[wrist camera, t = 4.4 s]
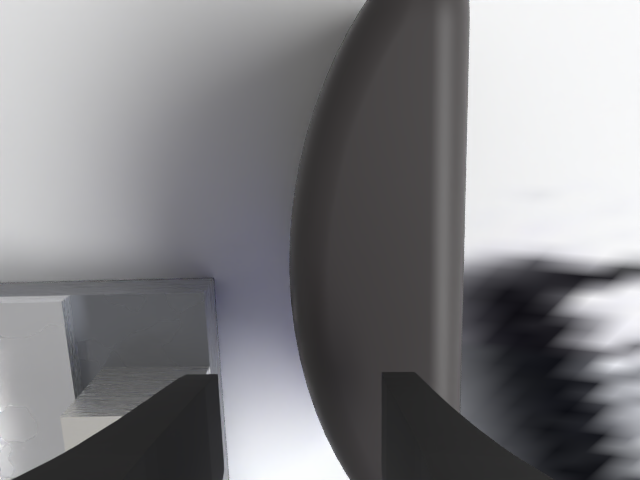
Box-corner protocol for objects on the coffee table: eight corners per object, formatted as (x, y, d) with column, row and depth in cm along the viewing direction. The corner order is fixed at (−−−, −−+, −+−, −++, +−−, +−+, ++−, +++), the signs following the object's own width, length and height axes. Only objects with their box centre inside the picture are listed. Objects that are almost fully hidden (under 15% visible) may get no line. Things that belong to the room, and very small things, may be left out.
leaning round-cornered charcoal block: (296, 6, 17) (268, -66, 10) (420, 1, 17) (486, -76, 10) (313, 401, 20) (301, 572, 13) (418, 399, 20) (467, 570, 13)
